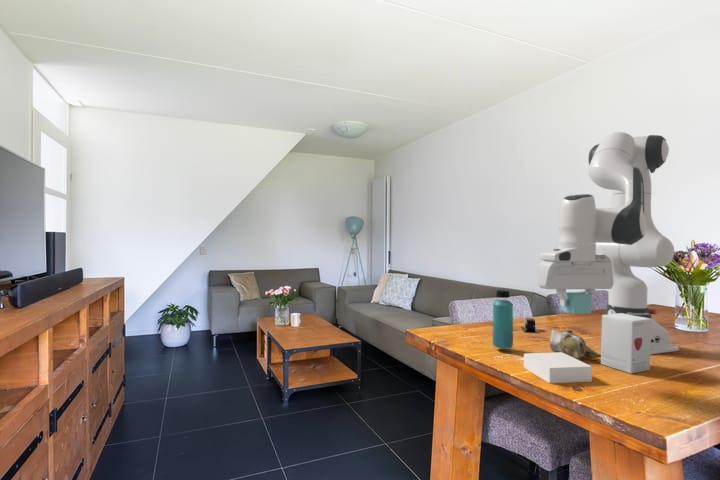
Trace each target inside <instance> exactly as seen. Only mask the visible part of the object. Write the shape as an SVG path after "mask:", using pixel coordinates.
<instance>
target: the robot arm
mask: <svg viewBox="0 0 720 480" xmlns="http://www.w3.org/2000/svg"><path fill="white" fill-rule="evenodd" d="M669 152H670V147H669V144H668V142H667V140H666V138H665V137H664V136H662V135H658V134H650V135H648V136H632V135H631V134H629V133H627V132H622V131H617V132H612V133H610V134H608V135H606V136H605V137H603V139H602V140H601V142H599V143H598V144H596V145H594V146H592V148H591V149H590V150H589V153H588V158H587V159H588V165H589V166H588V175H589V178H590V180H591V181H592V182H593V183H594V184H595V185H596V186H598V187H600V188H602V189H605V190H608V191H609V190H611V191H612V194H611V195H612V198H611V199H612V200H611V207H602V208H601V207H600V208H599V207H596V200H595V196H594V195H592V194H585V193H583V194H573V195H572V194H571V195H566V196H565V197H563V198H562V199H561V202H560V203H561V204H560V206H559V207H560V208H559V214H558V230H559V239H558V241H557V242H558V243H557V244H558V245H557V247H554V248H551V249H549V250H548V249H547V250H545V251H542V252H541V253H540V260H542V261H541V262H540V264H539V267H538V272H537V274H538V275H537V285H538V286H539V288H541V289H543V290H544V289H545V290H555V294H556V295H557V297H558V299H559V305H560V307H561V306H569V300H568V299H566V297H565V295H564V293H566V292H567V290H584V293H585V294H590V295H591V300H593V298H594V297H595V295H596V290H607V291H608V303H607V304H606V315H607V314H617V313H624V314H629V315H634V316H639V317H645V318H650V319H651V344H650V355H657V354H664V353H672V352H673V353H674V352H680V348H679V347H678V346H677V345H675V344H672V343H671V336H670V332H669V331H668V330H667V329H666V328H665V327H663V326H661V324H659V323H658V322H657V321H656V320H654V319H653V317H652V315H654V316H658V314H659V309H656V308H652V307H651V308H649V307H648V286H647V284H646V283H645V281H644V280H642V279H641V278H639V277H637V276H636V275H634V273H633V271H632V270H631V269H632V268H631V267H636V268H637V267H638V268H658V267H666V266H667V265H668V264H670V263H671V262H672V260H673V259H674V256H675V247H674V244H673V242H672V241H671V240H670V239H669V238H668V237H666V236H665V235H663V233H661V232H660V231H659V229H657V227H656V226H655V224H654V221H653V218H652V179H651V174H654V173H655V172H656V170H658V169H659V168H660V167H662V166H663V164H665V162H666V161H667V158H668V156H669Z"/></svg>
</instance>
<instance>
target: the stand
mask: <svg viewBox="0 0 720 480" xmlns="http://www.w3.org/2000/svg"><path fill="white" fill-rule="evenodd" d="M523 368H524V369H526V370H528V371H529V372H531V373H532V374H534V375H536V376H537V377H539V378H540V379H542V380H543V381H545V382H546V383H548V384H566V383H567V384H568V383H569V384H570V383H585V382H586V383H589V382H593V366H592V365H590V364H588V363H585V362H583V361H581V360H577V359H575V358H573V357H571V356H569V355H567V354H565V353H562V352H532V353H530V352H529V353H528V352H527V353H523Z"/></svg>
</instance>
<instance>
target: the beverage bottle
mask: <svg viewBox="0 0 720 480" xmlns="http://www.w3.org/2000/svg"><path fill="white" fill-rule="evenodd" d="M495 296H496V298H502V299H496V300H495V301H494V302H492V306H493V307H492V310H493V311H492V345H493V347H495V348H498V349H506V350H507V349H512V348H513V346H514V316H513V315H514V313H513V312H514V311H513V310H514V309H513V308H514V307H513V306H514V304H513V303H512V302H511V301H510V300H505V299H508V298H510V291H509V290H502V289H500V290H496V295H495ZM503 298H504V299H503Z"/></svg>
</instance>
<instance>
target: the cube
mask: <svg viewBox="0 0 720 480" xmlns="http://www.w3.org/2000/svg"><path fill="white" fill-rule="evenodd" d="M564 295H565V297H566V299H568V300H569V306H561V305H560V311H562V312H567V313H569V314H573V315H581V314H582V315H584V314H585V315H587V314H588V315H589V314H591V313H592V299H591V295H590V294H586V292H580V291H566V293H564Z"/></svg>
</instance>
